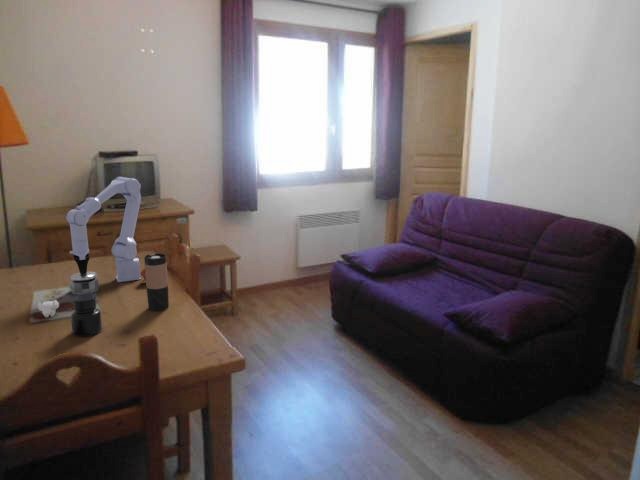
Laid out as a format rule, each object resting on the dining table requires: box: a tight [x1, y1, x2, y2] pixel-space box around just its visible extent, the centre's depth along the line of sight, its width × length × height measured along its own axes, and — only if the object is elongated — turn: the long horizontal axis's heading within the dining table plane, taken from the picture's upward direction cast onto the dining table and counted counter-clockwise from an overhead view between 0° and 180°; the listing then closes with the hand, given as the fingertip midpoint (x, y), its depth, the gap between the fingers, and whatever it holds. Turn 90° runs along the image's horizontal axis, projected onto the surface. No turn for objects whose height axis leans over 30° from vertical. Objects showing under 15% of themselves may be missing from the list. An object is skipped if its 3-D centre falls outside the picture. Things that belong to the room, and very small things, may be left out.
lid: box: [70, 270, 98, 282], centre depth 201 cm, size 10×10×5 cm
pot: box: [69, 276, 100, 296], centre depth 204 cm, size 10×20×5 cm, turn 28°
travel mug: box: [143, 253, 170, 312], centre depth 185 cm, size 8×8×20 cm
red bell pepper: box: [139, 267, 146, 284], centre depth 213 cm, size 7×7×10 cm
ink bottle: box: [70, 293, 103, 337], centre depth 165 cm, size 10×9×12 cm
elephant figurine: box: [37, 299, 60, 318], centre depth 178 cm, size 7×8×6 cm
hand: (83, 272), depth 201 cm, fingers closed on lid, 2 cm apart
